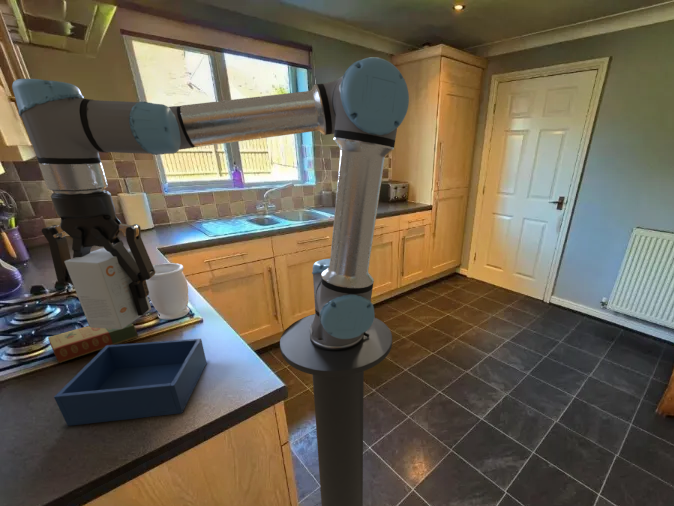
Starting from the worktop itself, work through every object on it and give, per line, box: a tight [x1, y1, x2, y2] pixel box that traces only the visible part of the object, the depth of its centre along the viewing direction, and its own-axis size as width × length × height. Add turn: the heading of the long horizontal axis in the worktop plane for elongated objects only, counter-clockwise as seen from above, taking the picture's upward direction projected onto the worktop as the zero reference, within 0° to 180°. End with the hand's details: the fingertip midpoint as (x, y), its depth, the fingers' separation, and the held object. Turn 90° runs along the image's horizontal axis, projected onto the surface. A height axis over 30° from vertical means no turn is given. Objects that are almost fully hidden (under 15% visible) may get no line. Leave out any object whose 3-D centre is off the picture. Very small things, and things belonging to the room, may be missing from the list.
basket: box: [53, 338, 207, 427], centre depth 69 cm, size 20×17×7 cm
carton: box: [47, 322, 139, 364], centre depth 85 cm, size 8×16×4 cm, turn 140°
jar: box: [146, 262, 190, 321], centre depth 98 cm, size 11×10×15 cm
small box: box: [64, 247, 152, 329], centre depth 61 cm, size 8×6×13 cm
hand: (120, 313), depth 63 cm, fingers closed on small box, 7 cm apart
